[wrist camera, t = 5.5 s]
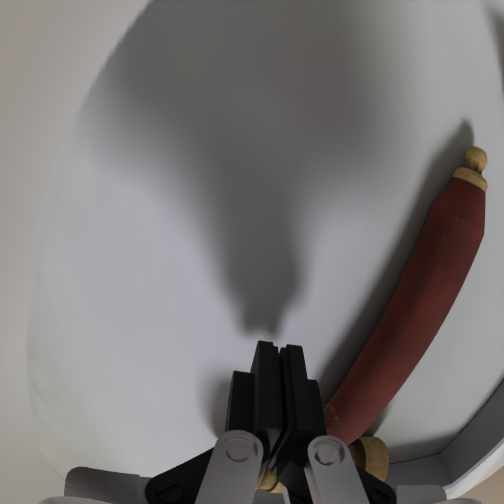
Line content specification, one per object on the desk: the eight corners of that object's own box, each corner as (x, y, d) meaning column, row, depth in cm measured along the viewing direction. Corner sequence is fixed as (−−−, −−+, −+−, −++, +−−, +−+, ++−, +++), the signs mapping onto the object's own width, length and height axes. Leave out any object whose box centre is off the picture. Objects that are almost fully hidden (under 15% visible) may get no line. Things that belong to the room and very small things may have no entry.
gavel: (409, 64, 5) (565, 208, 6) (356, 95, 10) (505, 191, 11) (209, 499, 12) (357, 505, 12) (216, 443, 16) (346, 458, 17)
